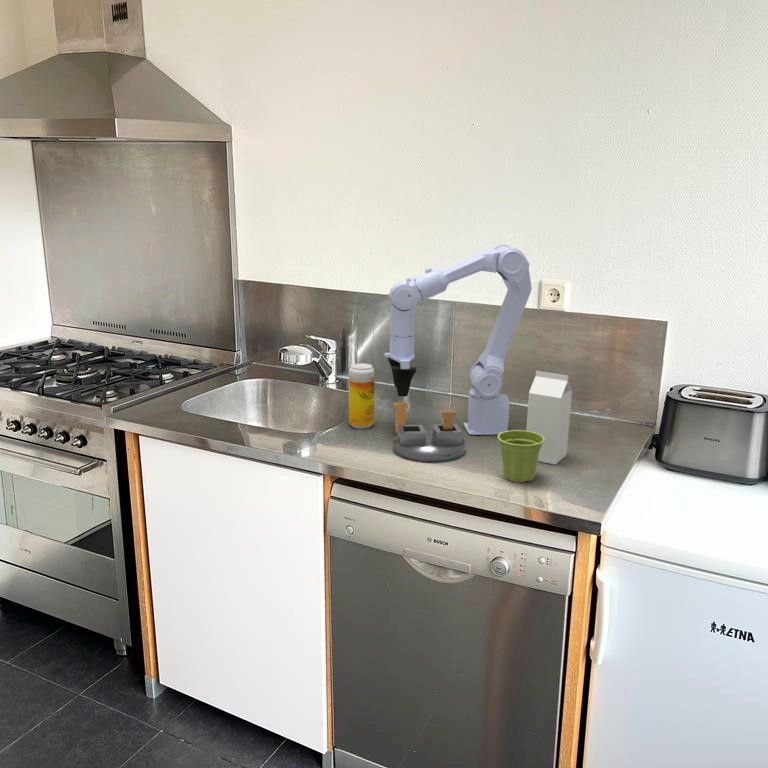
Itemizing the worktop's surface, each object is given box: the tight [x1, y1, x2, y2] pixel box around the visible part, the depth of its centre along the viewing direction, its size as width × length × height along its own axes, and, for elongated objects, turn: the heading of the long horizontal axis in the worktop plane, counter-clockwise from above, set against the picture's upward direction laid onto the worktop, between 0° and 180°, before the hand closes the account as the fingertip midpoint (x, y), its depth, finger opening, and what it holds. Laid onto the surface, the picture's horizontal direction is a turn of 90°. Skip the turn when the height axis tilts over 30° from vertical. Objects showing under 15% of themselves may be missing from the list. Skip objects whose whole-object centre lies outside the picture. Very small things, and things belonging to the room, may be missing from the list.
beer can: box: [348, 362, 375, 430], centre depth 185 cm, size 6×6×15 cm
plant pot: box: [497, 429, 545, 483], centre depth 155 cm, size 9×9×9 cm
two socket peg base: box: [392, 409, 466, 464], centre depth 170 cm, size 16×16×9 cm
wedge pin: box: [393, 401, 409, 434], centre depth 182 cm, size 3×2×7 cm
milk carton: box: [525, 370, 573, 466], centre depth 165 cm, size 7×7×19 cm
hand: (401, 391), depth 180 cm, fingers open, 7 cm apart
